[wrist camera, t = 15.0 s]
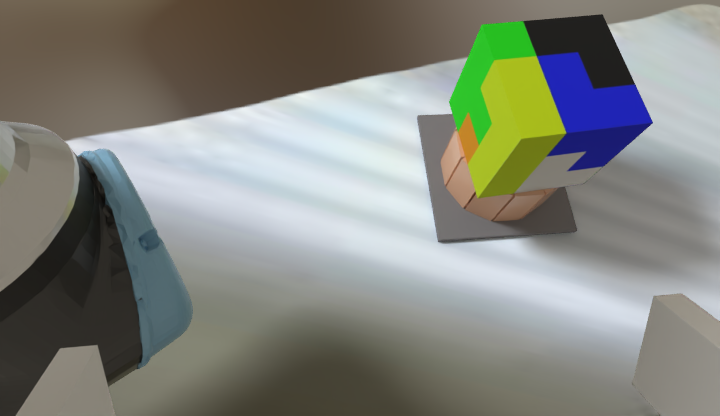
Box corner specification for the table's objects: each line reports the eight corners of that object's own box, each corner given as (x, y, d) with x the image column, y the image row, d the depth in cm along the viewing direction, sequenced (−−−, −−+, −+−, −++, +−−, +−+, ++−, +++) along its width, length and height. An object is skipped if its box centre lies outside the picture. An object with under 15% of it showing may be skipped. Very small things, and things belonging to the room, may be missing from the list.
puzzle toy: (583, 183, 45) (652, 122, 36) (477, 198, 43) (521, 138, 34) (548, 91, 48) (602, 14, 39) (449, 102, 47) (481, 24, 38)
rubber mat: (438, 241, 48) (439, 239, 48) (417, 118, 54) (417, 115, 53) (574, 231, 50) (577, 230, 50) (541, 113, 55) (543, 110, 55)
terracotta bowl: (451, 224, 49) (469, 199, 43) (434, 127, 53) (447, 92, 47) (558, 217, 50) (589, 191, 45) (533, 122, 54) (558, 89, 49)
